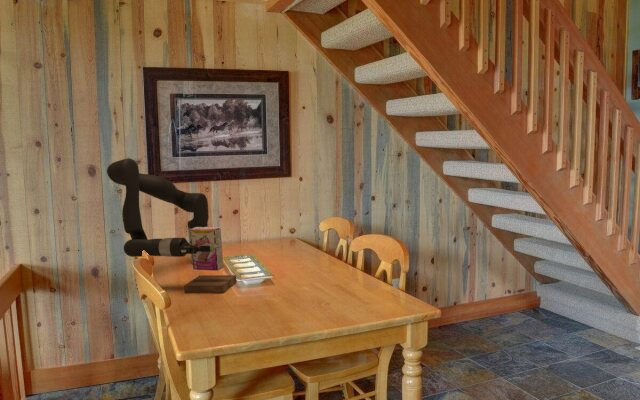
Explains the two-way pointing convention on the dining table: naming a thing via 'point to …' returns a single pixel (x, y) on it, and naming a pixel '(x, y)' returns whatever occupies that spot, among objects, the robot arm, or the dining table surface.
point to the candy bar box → (214, 256)
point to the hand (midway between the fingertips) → (212, 246)
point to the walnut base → (210, 284)
